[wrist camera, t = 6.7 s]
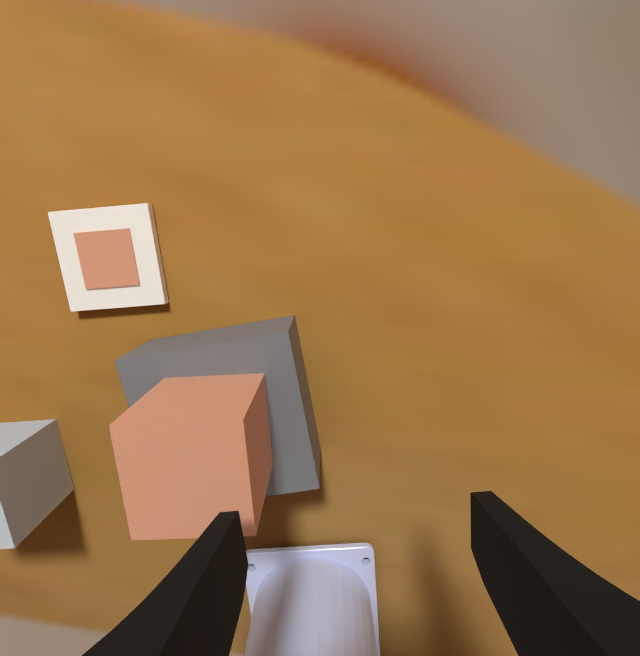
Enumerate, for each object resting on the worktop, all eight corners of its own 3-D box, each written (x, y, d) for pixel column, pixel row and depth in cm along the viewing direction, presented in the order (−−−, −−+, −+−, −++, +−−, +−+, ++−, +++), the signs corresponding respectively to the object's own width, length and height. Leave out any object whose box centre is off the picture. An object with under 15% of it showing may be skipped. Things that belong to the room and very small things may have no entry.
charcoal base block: (320, 445, 23) (319, 488, 19) (189, 465, 23) (161, 511, 19) (295, 313, 21) (288, 331, 17) (153, 338, 21) (114, 360, 17)
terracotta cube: (272, 463, 18) (255, 536, 14) (178, 467, 19) (131, 540, 14) (264, 373, 17) (243, 419, 13) (164, 377, 18) (109, 425, 13)
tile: (168, 302, 20) (164, 304, 20) (76, 309, 21) (69, 312, 20) (151, 204, 19) (146, 202, 19) (54, 212, 19) (46, 211, 19)
